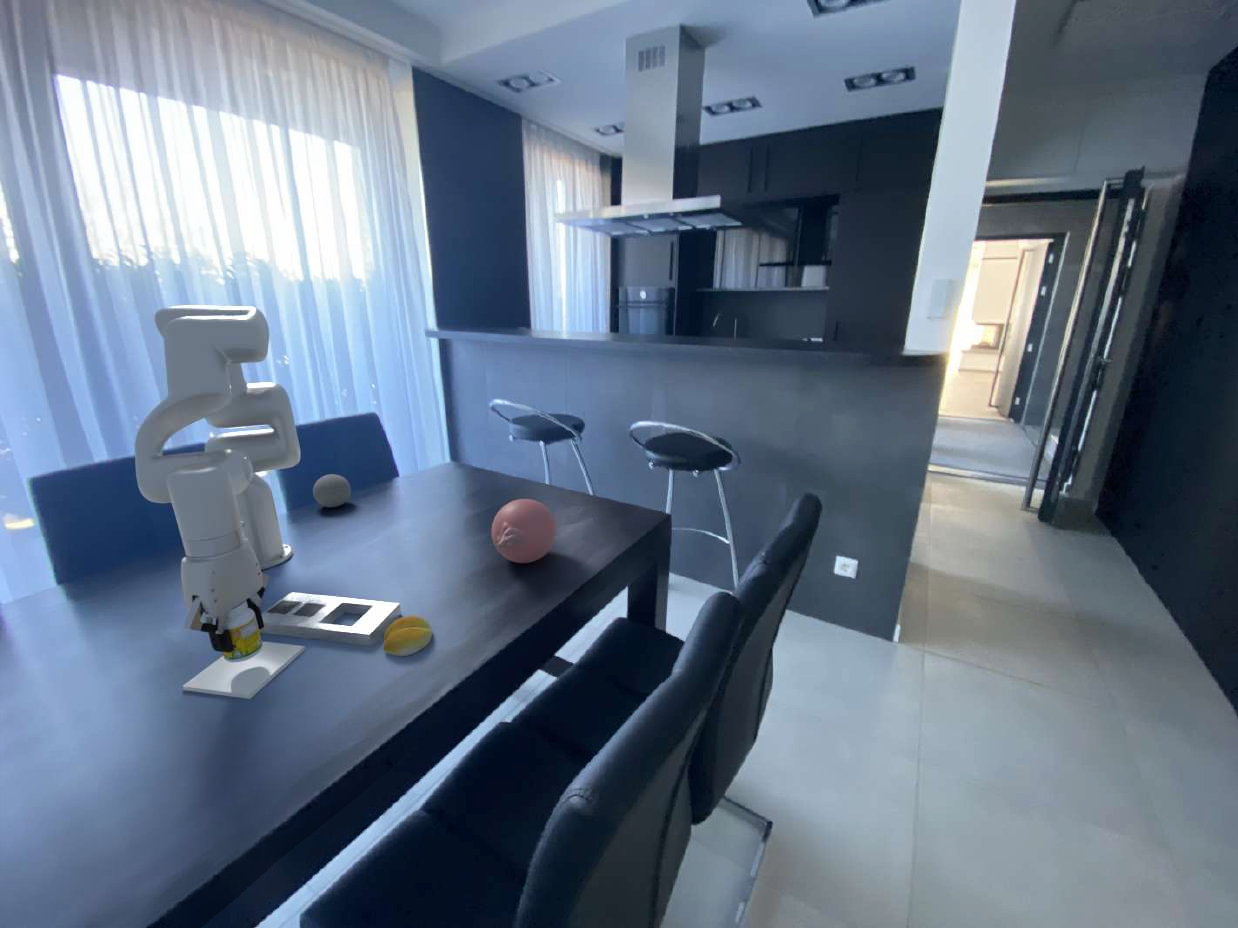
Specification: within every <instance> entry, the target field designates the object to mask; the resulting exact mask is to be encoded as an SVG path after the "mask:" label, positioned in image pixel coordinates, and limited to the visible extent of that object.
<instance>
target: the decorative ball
mask: <svg viewBox="0 0 1238 928" xmlns="http://www.w3.org/2000/svg"><path fill="white" fill-rule="evenodd" d="M312 494H313V497H314V500H315V501H316V502H317V503H318V504H319V505H321V506H323V507H326V508H338V507H340V506H342V505H344V504H345V503H346V502H348V500H349V499H350V497H351V494H352V487H351V485H350V483H349V481H348V480H347V479H346V478H345V477H344V476H342V475H340V474H336V473H335V474H332V473H331V474H326V475H324V476H321V477H320V478H318V479H317V480H316V482H315V483H314V485H313V488H312Z"/></svg>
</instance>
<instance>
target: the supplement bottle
mask: <svg viewBox="0 0 1238 928" xmlns="http://www.w3.org/2000/svg"><path fill="white" fill-rule="evenodd" d="M247 607H248V605H247V602H246V600H245V601H243V602H242V603H240V604H239V605H237V606H236V607H234V608H233V609H231V610H230V611H228V612H227V613H226V617H225V629H226V630H229V631H230V635H231V639H232V643H233V647H234V650H233V651H232V652H230V653H227V652H221V653H222V656H224V659H225V660H226V661H228V662H241V661H245V660H247V659H250V658H252V657H254V656H255V655H257V654H258V653H259V652H260V651H261V649H262V646H263V645H262V641H263V640H262V636H261V633H260V632H259V628H258V624H257V620H256V616H255V613H254V611H253V610H252V609H250V608H247ZM215 622H216V620H215ZM215 622H214V623H215Z"/></svg>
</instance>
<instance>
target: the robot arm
mask: <svg viewBox="0 0 1238 928" xmlns="http://www.w3.org/2000/svg"><path fill="white" fill-rule="evenodd" d="M154 322H155V326H156V328H157V331H158V332H159V334H160V335H161V337H162V338H163V349H164V360H165V362H164V363H165V372H166V383H167V384H166V385H167V396H166V398H164V399H163V400H162V401H160V403H158V405H156V406H155V407H154V408H153V409H152V410H151V411H150V413H148V415H147V416H146V417H145V419H144V420H143V421H142V423H141V424H140V426H139V427H138V428H139V429H138V431H137V433H136V436H135V441H134V460H135V463H134V465H135V477H136V482H137V487H138V489H139V491H140V493H141V495H142V496H143V497H144V498H145V499H146V500H148V501H149V502H151V503H155V504H168V503H169V504H170V503H171V505H172V509H173V511H174V513H173V514H174V515H175V518H176V519H175V520H176V522H177V527H178V530H179V534H180V537H181V542H182V545H183V548H184V553H185V555H186V556H185V557H183V558H182V559H181V564H180V579H181V587H182V594H183V599H184V603H185V608H186V611H187V616H186V619H185V622H184V623H183V630H189V631H198V632H203V633H208V636H209V637H208V638H209V640H210V643H211V646H212V647H211V648H212V650H213V651H215V652H219V653H220V652H221V653H222V652H227V653H230V652H232V651H233V650H234V647H233V643H232V639H231V635H230V631H229V630H226V629H225V617H226V613H227V612H228V611H230V610H231V609H233V608H234V607H236V606H237V605H239V604H240V603H242V602H243V601H245V600H246V602H247V605H248V607H247V608H250V609H252V610H253V611H254V613H255V616H256V620H257V624H258V628H259V629H262V628H264V623H263V619H262V611H261V607H262V605H263V597H264V594H265V591H266V587H267V586H268V583H269V582H270V579H271V576H270V575H268V574H266V573H264V572H262V570H267V569H270V568H273V567H276V566H277V565H280V564H283V563H284V562H286V561H287V560H288V559H290V557H291V556H292V555H293V550H292V546H290V545H288V544H285V543H283V538H282V534H281V533H282V532H281V528H280V524H279V519H278V515H277V509H276V505H275V501H274V500H275V499H274V496H273V495H274V494H273V491H272V488H271V486H270V484H269V483H268V482H267V481H266V480H265V479H264V478H263V477H262V476H260V475H258V474H257V473H260V472H268V471H276V470H283V469H284V470H285V469H288V468H289V469H290V468H293V467H295V466H297V465H298V464H299V463H300V461H301V448H300V442H299V437H298V432H297V427H296V423H295V416H294V413H293V408H292V404H291V401H290V396H289V394H288V391H287V390H286V389H285V387H283V386H282V385H281V384H279V383H276V382H267V381H266V382H255V383H254V382H247V381H246V379H245V375H244V372H243V367H242V364H251V363H256V364H257V363H260V362H263V361H265V359H266V358H267V356H268V353H269V343H270V327H269V322H268V321H267V319H266V317H265V314H264V313H263V312H262V311H261V310H260V309H258V308H257V307H253V306H242V305H241V306H240V305H239V306H236V305H235V306H232V305H227V306H223V305H221V306H220V305H175V306H168V307H163V308H160V309H159V310H157V311H156V312H155V314H154ZM202 419H205V420H206V423H207V424H208V425H209V426H211V427H212V428H216V429H219V430H221V429H223V430H225V429H226V430H227V429H228V430H229V429H242V428H252V427H263V426H264V427H265V426H267V427H270V428H266V429H265V428H263V429H254V430H253V429H251V430H250V429H249V430H242V431H230V432H225V433H221V434H216V435H214V436H212V437H210V438H208V440H207V441H206V443H205V445H204V451H195V452H188V453H187V452H184V453H178V454H177V453H175V454H168V455H167V454H165V455H163V452H164V451H163V450H164V446H165V445H166V443H168V441H169V439H170V438H171V437H173V436H174V435H175V434H176V433H177V432H179V431H181V430H182V429H184V428H185V427H188V426H190V425H192V424H193V423H196V422H198V421H200V420H202ZM201 619H202V621H201ZM214 619H215V621H216V622H214Z"/></svg>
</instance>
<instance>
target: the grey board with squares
mask: <svg viewBox="0 0 1238 928" xmlns="http://www.w3.org/2000/svg"><path fill="white" fill-rule="evenodd" d="M261 614H262V619H263V623H264V628H262V629H259V632H260V634H265V635H266V634H267V635H275V636H282V637H283V636H284V637H294V638H299V639H301V638H302V639H309V640H311V639H312V640H319V641H325V642H326V641H327V642H335V643H336V642H337V643H344V644H354V645H361V646H362V645H363V646H370V647H371V646H372V645H373V644H375V642H376V641H377V640H378V639H379V638H380V637H381V636H382V635H384V634H385V631H386V629H387V628H388V627H389V626H390V625H391V624H392V623H393V622H395V621H396V620H398V619H399V617H400V616H401V615H402V609H401V603H400V602H388V601H380V600H379V601H378V600H371V599H361V598H351V597H341V596H333V595H321V594H313V593H312V594H311V593H303V592H293V591H292V592H290V593H288V594H287V595H286V596H284V597H283V598H282V599H280V600H279V601H278V602H276V603H274V605H272V606H270V607H269V608H268V609H266V610H265V611H263V612H261ZM343 614H353V615H362V617H360V619H358V620H357V621H356V622H355V623H354V624H353V625H352V626H347V625H339V624H333V623H334V622H335V621H337V620H338V619H339V618H340V617H341V616H342V615H343Z"/></svg>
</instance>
